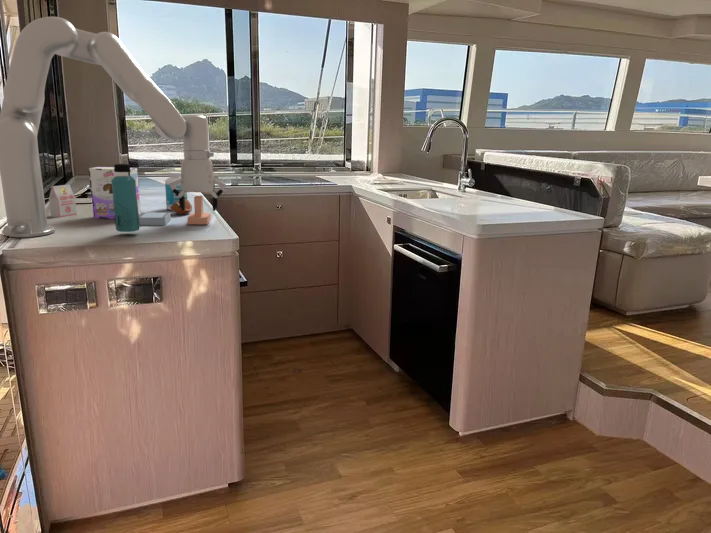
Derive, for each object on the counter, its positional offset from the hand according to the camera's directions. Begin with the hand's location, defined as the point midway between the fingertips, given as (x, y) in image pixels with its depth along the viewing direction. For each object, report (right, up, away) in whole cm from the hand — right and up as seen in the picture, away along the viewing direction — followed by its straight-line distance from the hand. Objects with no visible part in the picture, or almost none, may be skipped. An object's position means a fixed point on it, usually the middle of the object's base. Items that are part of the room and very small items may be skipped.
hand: (199, 210), depth 172 cm
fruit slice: (-11, 0, +15) cm, 19 cm away
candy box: (-28, -2, +5) cm, 29 cm away
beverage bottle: (-15, -9, -20) cm, 26 cm away
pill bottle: (-15, +3, +24) cm, 29 cm away
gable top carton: (-47, -1, +6) cm, 47 cm away
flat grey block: (-15, -4, -1) cm, 16 cm away
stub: (0, -4, +1) cm, 4 cm away
